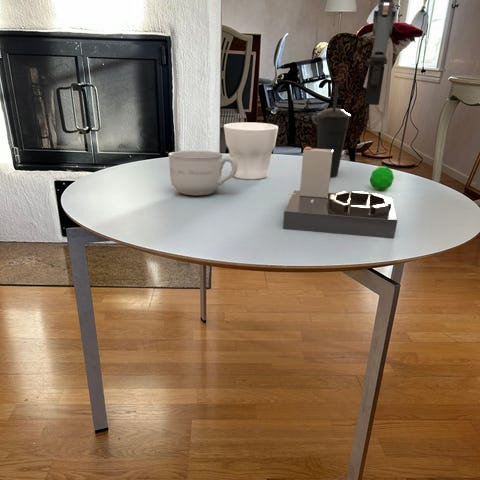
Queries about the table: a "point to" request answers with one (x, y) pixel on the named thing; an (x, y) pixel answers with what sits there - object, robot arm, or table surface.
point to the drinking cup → (333, 132)
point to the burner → (359, 204)
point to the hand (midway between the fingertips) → (371, 101)
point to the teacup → (198, 171)
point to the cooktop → (335, 218)
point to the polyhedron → (381, 178)
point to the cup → (251, 147)
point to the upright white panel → (316, 172)
